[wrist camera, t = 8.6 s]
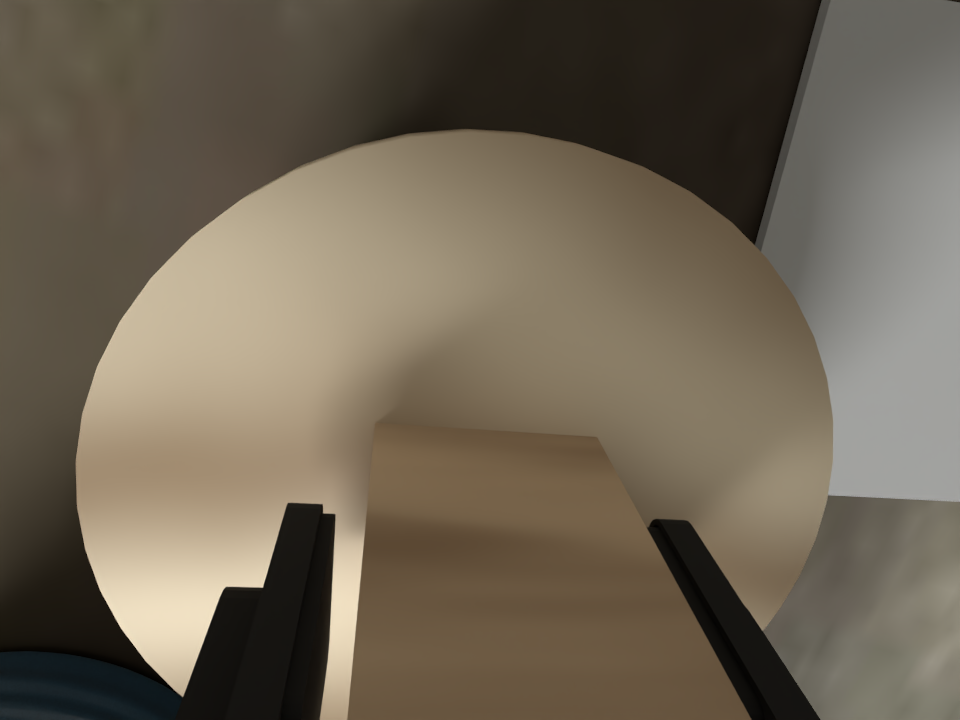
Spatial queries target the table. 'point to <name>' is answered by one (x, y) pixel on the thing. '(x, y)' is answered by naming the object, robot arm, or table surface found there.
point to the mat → (878, 238)
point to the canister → (78, 690)
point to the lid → (463, 428)
